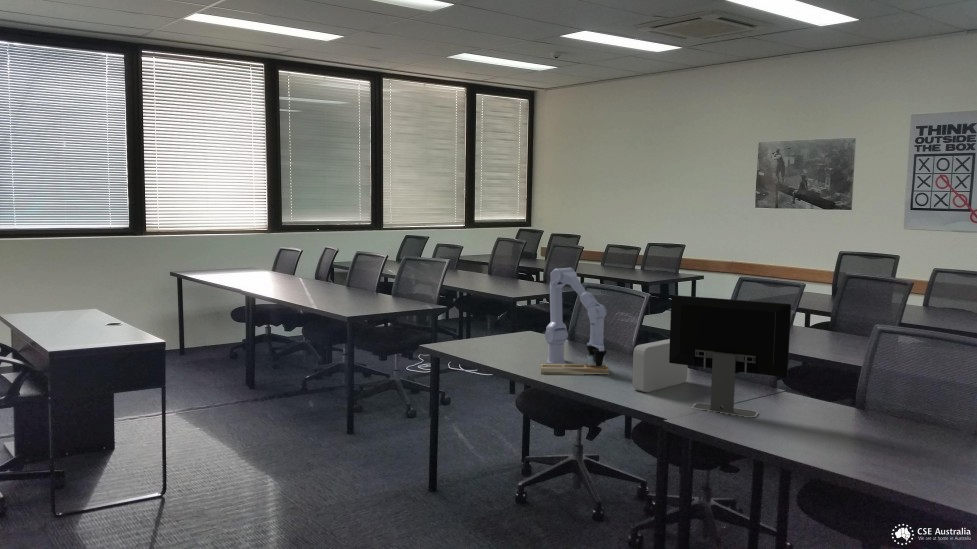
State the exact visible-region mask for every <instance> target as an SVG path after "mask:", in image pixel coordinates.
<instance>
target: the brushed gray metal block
mask: <svg viewBox="0 0 977 549" xmlns="http://www.w3.org/2000/svg"><path fill="white" fill-rule="evenodd" d="M586 356H587V357H586V359H587V360H586V361H587V362H586V363H587V367H604V364H605V357H606V355H605V356H604V359H603V362H602V366H596V360H595V355H589V354H586Z"/></svg>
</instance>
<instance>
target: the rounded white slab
mask: <svg viewBox="0 0 977 549" xmlns="http://www.w3.org/2000/svg"><path fill="white" fill-rule="evenodd" d="M669 350H670V338H668V339H667V338H666V339H663V340H658V341H653V342H652V341H651V342H648V343H647V342H646V343H643V344H641V343H640V344H637V345H636V346H635V347H634V349H633V356H632V360H633V361H632V388H633V390H635V391H639V392H643V393H650V391H651V392H654V390H655V391H657V389H658V390H662V389H665V388H670V387H673V386H676V385H681V383H682V384H684V383H685V382H686V381H687V379H688V370H689V369H688V366H689V365H681V364H673V363H669ZM669 386H670V387H669Z"/></svg>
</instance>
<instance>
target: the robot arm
mask: <svg viewBox="0 0 977 549" xmlns="http://www.w3.org/2000/svg"><path fill="white" fill-rule="evenodd" d="M577 276H578V273H577V272H576V271H575V269H574V268H573V267H570V266H569V267H565V268H564V267H563V268H554V269H553V270H552V271H551V272H550V281H549V312H550V314H549V315H550V322H549V323H548V324H547V326H546V327H545V328H546V329H545V333H544V340H545V341H546V342H547V344H548V346H547V347H548V352H547V353H548V354H547V355H548V356H547V358H546V361H547V362H546V363H552V364H566V361H565V360H566V359H565V343H566V341H567V340H568V337H569V333H568V330H567V325H566V324H565V323H564V321H563V291H562V289H563V287H564V286H566V285H568V286H570V287H571V288H572V289H573V291H575V293H576V294H577V295H578V296H579V301H580V303H581V304H582V305H583V307H585V310H586V311H587V317H588V318H589V323H590V324H589V327H590V328H589V330H590V331H589V340H588V341H589V342H587V343H586V344H587V345H586V348H587V351H588V355H595V360H596V366H602V362H603V359H604V360H605V358H604V356H605V357H606V354H607V350H606V349H605V346H604V344H605V343H604V331H605V330H604V329H605V328H604V327H605V326H604V325H605V323H604V322H605V317H607V314H608V311H607V307H606V306H605V305H604V304H601V303H600V302H599V301H597V299H596V298H595V297H594V294H593V293H591V291H590V292H589V291H586V289H585V287H584V286H583V284H582V283H581V281H580V280H579V279H578V277H577Z"/></svg>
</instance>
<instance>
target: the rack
mask: <svg viewBox="0 0 977 549" xmlns="http://www.w3.org/2000/svg"><path fill="white" fill-rule="evenodd" d="M539 366H540V368H539V370H540V374H542V375H543V374H544V375H584V374H609V375H610V368H609V366H608V364H606V363H604V367H587V362H586V363H565V364H552V363H547V362H546V363H543V362H541V363H540V365H539Z"/></svg>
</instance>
